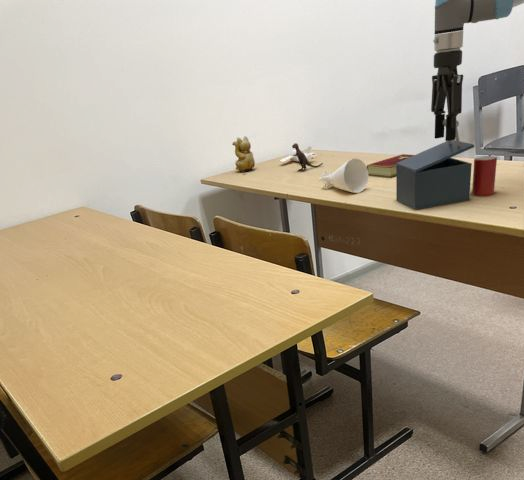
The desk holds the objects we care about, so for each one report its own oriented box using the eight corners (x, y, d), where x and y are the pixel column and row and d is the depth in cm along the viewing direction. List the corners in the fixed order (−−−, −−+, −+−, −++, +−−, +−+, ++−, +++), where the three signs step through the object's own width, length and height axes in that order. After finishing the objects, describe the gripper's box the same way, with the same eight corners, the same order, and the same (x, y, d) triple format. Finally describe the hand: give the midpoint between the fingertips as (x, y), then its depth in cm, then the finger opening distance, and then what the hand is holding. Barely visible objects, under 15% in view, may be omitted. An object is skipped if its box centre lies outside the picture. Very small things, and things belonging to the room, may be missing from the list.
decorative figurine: (247, 168, 254) (243, 134, 247) (260, 168, 249) (256, 134, 242) (233, 172, 248) (228, 138, 241) (246, 173, 243) (241, 138, 236)
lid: (451, 141, 166) (446, 114, 162) (474, 147, 154) (470, 118, 150) (396, 165, 166) (390, 139, 162) (415, 172, 154) (409, 144, 150)
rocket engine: (317, 160, 196) (350, 151, 181) (339, 175, 203) (372, 168, 188) (307, 188, 196) (339, 182, 181) (329, 203, 202) (362, 198, 187)
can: (487, 189, 169) (490, 154, 163) (497, 194, 163) (501, 157, 158) (468, 192, 168) (470, 157, 163) (477, 197, 163) (480, 161, 158)
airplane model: (307, 156, 262) (305, 140, 258) (330, 159, 246) (329, 142, 243) (272, 164, 254) (270, 148, 250) (294, 168, 239) (293, 151, 235)
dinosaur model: (290, 143, 226) (319, 139, 232) (291, 171, 232) (319, 166, 238) (295, 144, 223) (324, 140, 229) (296, 173, 229) (324, 168, 235)
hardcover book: (366, 175, 209) (366, 164, 206) (402, 164, 219) (402, 153, 217) (390, 177, 200) (390, 166, 198) (425, 166, 210) (426, 154, 208)
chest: (447, 191, 173) (448, 156, 168) (469, 200, 161) (471, 163, 156) (396, 200, 171) (396, 165, 166) (414, 209, 159) (415, 173, 154)
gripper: (419, 53, 155) (418, 137, 166) (452, 51, 138) (448, 144, 149) (443, 50, 156) (441, 133, 167) (479, 47, 139) (473, 140, 150)
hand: (444, 138), depth 158 cm, fingers closed on lid, 6 cm apart
